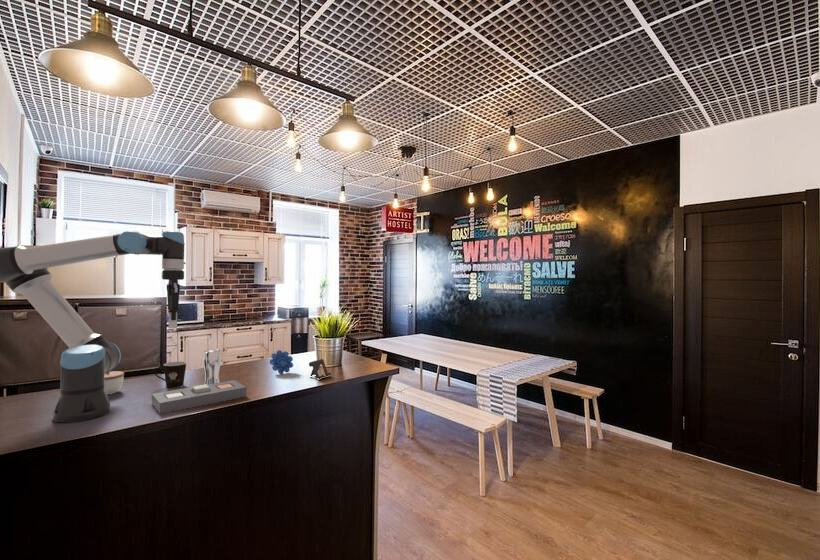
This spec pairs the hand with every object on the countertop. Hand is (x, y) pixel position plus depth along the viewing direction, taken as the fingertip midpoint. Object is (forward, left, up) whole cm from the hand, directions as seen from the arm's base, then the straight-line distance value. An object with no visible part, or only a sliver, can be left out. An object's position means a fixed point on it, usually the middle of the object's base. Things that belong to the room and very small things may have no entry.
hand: (172, 328), depth 154 cm
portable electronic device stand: (+56, +23, -28) cm, 67 cm away
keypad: (+13, -7, -28) cm, 31 cm away
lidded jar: (-28, +7, -28) cm, 40 cm away
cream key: (+6, -12, -27) cm, 30 cm away
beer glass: (+9, +17, -28) cm, 34 cm away
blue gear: (+37, +32, -28) cm, 57 cm away
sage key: (+13, -7, -25) cm, 29 cm away
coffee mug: (-7, +15, -28) cm, 33 cm away
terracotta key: (+21, -1, -27) cm, 34 cm away
